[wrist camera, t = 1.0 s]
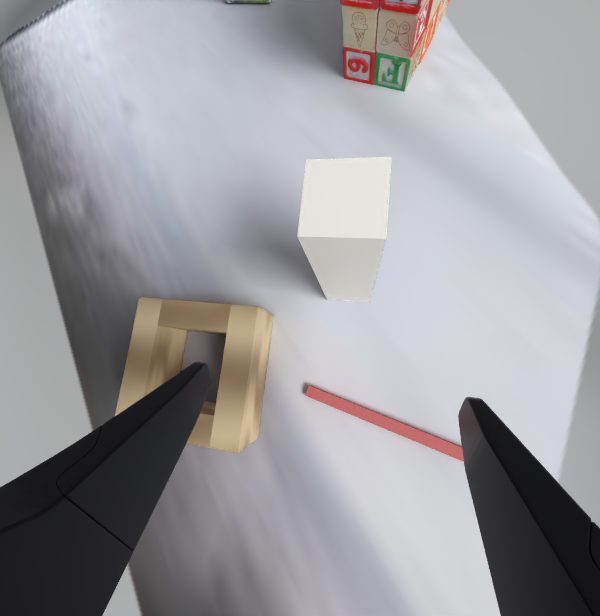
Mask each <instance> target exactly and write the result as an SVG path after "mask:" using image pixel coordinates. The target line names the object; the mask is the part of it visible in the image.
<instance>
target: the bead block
mask: <svg viewBox="0 0 600 616" xmlns="http://www.w3.org/2000/svg"><path fill="white" fill-rule="evenodd" d="M272 323H273V314H271V313H269V312H267V311H265V310H263V309H262V308H260V307H258V306H245V305H233V304H220V303H208V302H195V301H183V300H170V299H157V298H145V297H139V302H138V307H137V311H136V316H135V321H134V326H133V331H132V336H131V341H130V345H129V350H128V355H127V360H126V365H125V370H124V375H123V380H122V384H121V389H120V394H119V399H118V404H117V409H116V414H115V416H116V415H118V414H119V413H121V412H122V411H124V410H125V409H126V408H128V407H129V406H131V405H132V404H134V403H135V402H137V401H138V400H140V399H141V398H143V397H144V396H146V395H147V394H149V393H150V392H152V391H153V390H155V389H156V388H158V387H159V386H160V385H162V384H163V383H165V382H166V381H168V380H169V379H171V378H172V377H174V376H175V375H177V374H178V373H180V370H181V364H182V359H183V353H184V347H185V342H186V336H187V331H195V332H205V333H214V334H224V335H226V341H225V348H224V354H223V361H222V368H221V374H220V381H219V387H218V394H217V400H216V403H213V402H206V401H205V402H204V404H203V407H202V410H201V412H200V415H199V418H198V420H197V422H196V424H195V427H194V429H193V431H192V433H191V435H190V437H189V439H188V441H187V444H192V445H198V446H203V447H208V448H213V449H218V450H223V451H228V452H233V453H239V452H240V451H242V450H243V449H244V448H245V447H247V446H248V445H249V444H250V443H252V442H253V441H254V440H255V439H257V438H258V433H259V426H260V418H261V410H262V402H263V394H264V386H265V378H266V370H267V363H268V355H269V347H270V339H271V331H272Z"/></svg>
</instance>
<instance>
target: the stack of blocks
mask: <svg viewBox="0 0 600 616" xmlns="http://www.w3.org/2000/svg"><path fill="white" fill-rule="evenodd" d="M449 1H450V0H340V2H341V14H342V35H343V72H344V78H345V79H349V80H354V81H358V82H363V83H367V84H371V85H378V86H383V87H387V88H391V89H396V90H400V91H405V90H406V88H407V86H408V84H409V82H410V80H411V78H412V76H413V74H414V72H415V70H416V68H417V66H418V65H419V64H420V62H421V60H422V58H423V56H424V54H425V52H426V50H427V48H428V46H429V44H430V42H431V40H432V38H433V36H434V34H435V32H436V30H437V28H438V26H439V24H440V22H441V20H442V18H443V16H444V14H445V11H446V7H447V5H448V3H449Z"/></svg>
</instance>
